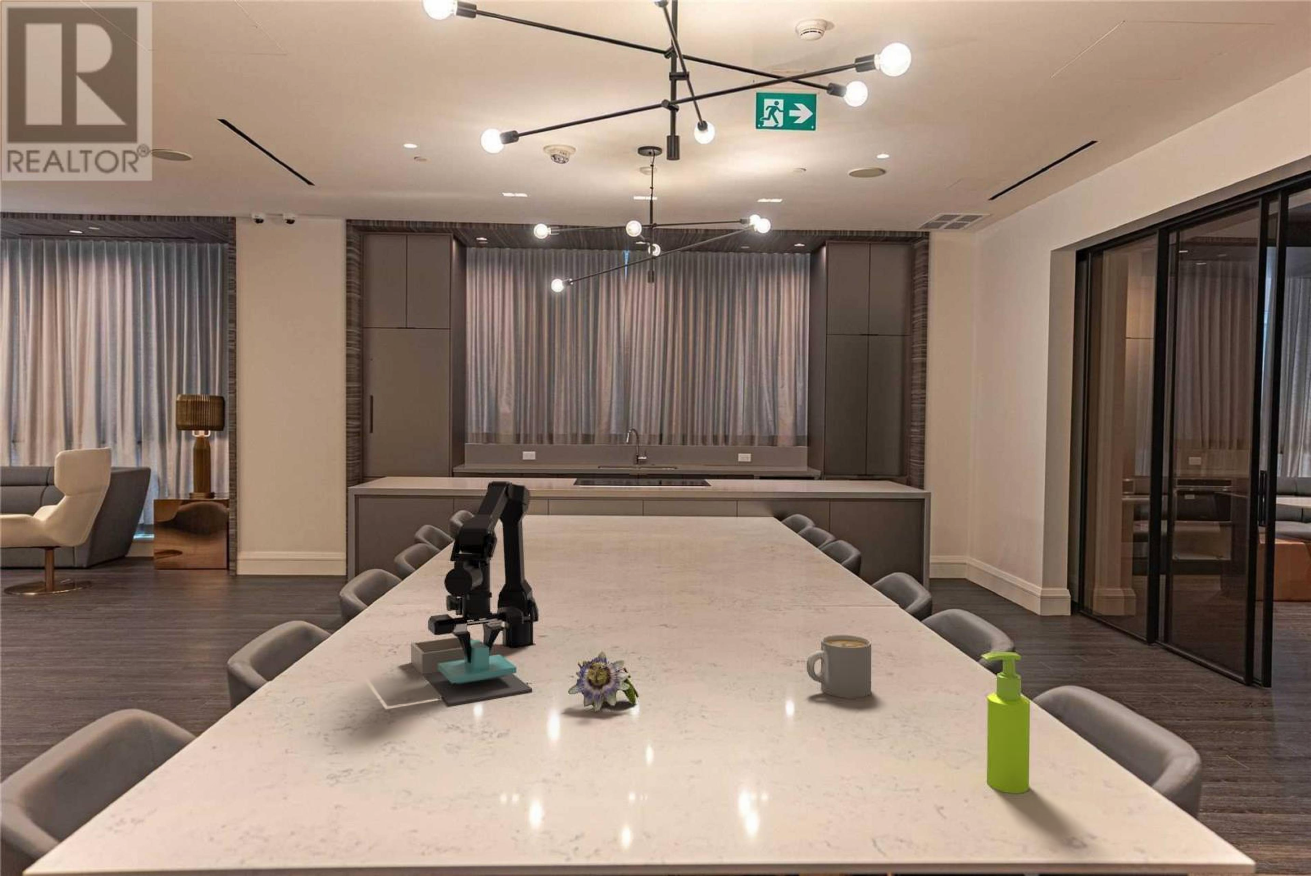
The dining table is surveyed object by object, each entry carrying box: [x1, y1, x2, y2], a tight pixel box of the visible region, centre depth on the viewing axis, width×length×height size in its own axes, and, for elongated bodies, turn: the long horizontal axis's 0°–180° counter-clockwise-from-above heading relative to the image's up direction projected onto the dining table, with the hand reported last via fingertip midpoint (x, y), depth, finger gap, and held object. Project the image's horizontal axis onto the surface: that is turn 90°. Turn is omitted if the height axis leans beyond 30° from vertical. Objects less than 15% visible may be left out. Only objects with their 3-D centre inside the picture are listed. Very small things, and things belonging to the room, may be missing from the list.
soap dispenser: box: [980, 651, 1031, 794], centre depth 127 cm, size 6×7×20 cm
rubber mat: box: [423, 673, 533, 707], centre depth 174 cm, size 17×19×1 cm
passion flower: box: [567, 650, 640, 713], centre depth 163 cm, size 11×11×12 cm
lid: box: [438, 638, 517, 684], centre depth 174 cm, size 13×10×6 cm
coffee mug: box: [806, 634, 872, 699], centre depth 171 cm, size 13×10×10 cm
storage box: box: [410, 636, 474, 676], centre depth 187 cm, size 13×10×5 cm
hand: (476, 661), depth 174 cm, fingers closed on lid, 3 cm apart
